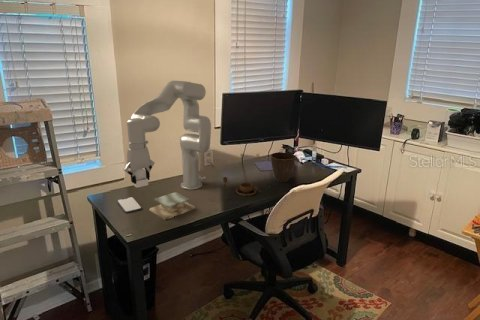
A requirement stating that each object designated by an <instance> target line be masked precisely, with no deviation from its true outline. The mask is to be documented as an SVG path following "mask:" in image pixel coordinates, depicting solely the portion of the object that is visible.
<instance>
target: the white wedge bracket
mask: <svg viewBox="0 0 480 320" xmlns="http://www.w3.org/2000/svg"><path fill="white" fill-rule="evenodd" d="M135 176H136V184H134V183H133V185H134V187H135V188H142V187H145V186H149V180H148V179H147V178H146V171H145V168H143V169H139V170H136V172H135Z"/></svg>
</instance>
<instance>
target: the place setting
mask: <svg viewBox="0 0 480 320" xmlns="http://www.w3.org/2000/svg"><path fill="white" fill-rule="evenodd" d="M222 181H223V183H224V188H226V187H227V182H228V177H226V176H225V177H223V180H222ZM239 191H241V192H242V193H240V192H239ZM251 191H253V192H252V193H251ZM257 191H259V193H262V191H261V190H260V189H259V188H258V187H257V186H253V184H252V183H250V182H242V183H240V185H239V186H238V187H236V189H235V192H236V194H237V195H239V196H242V197H243V196H244V197H251V196H254V195H256V193H257ZM228 192H230V193H231V190H228Z"/></svg>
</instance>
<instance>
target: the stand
mask: <svg viewBox="0 0 480 320" xmlns="http://www.w3.org/2000/svg"><path fill="white" fill-rule="evenodd" d="M154 201H155V202H156V203H158V205H155V206H152V207H149V211H150V212H151V213H153V214H155V215H156V216H157V217H159V218H160V219H162V220H164V221H167V220H169V219H172V218H174V216H175V217H177V216H179V215H182V214H186V213H187V212H190V211H193V210H195V209H196V207H195V206H194V205H193V204H190V203H189V201H190V198H188V197H186V196H184V195H182V194H181V193H179V192H177V191H174V192H172V193H168V194H164V195H162V196H159V197H155V198H154ZM166 219H167V220H166Z"/></svg>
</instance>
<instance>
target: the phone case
mask: <svg viewBox="0 0 480 320" xmlns="http://www.w3.org/2000/svg"><path fill="white" fill-rule="evenodd" d="M116 203H117V205H118V206H119V207H120V209H121V210H122V211H123V212H124V214H131V213H135V212H139V211H142V210H143V207H142V206H141V205H140V204H139V203H138V201H137V200H136V199H135V197H133V196H129V197H125V198H119V199H117V200H116Z"/></svg>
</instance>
